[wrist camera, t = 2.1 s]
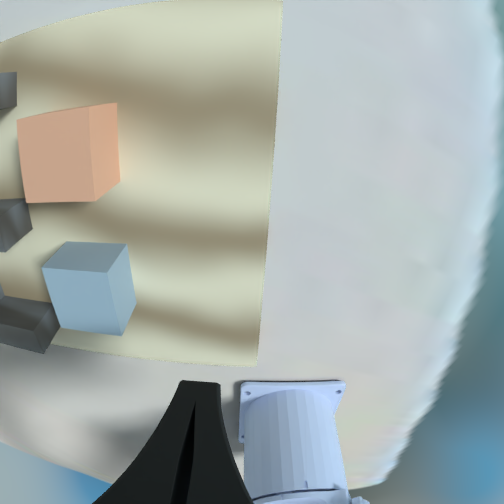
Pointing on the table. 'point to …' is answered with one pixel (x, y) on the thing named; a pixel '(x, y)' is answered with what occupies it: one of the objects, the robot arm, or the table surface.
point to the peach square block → (69, 154)
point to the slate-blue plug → (91, 286)
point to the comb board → (152, 173)
